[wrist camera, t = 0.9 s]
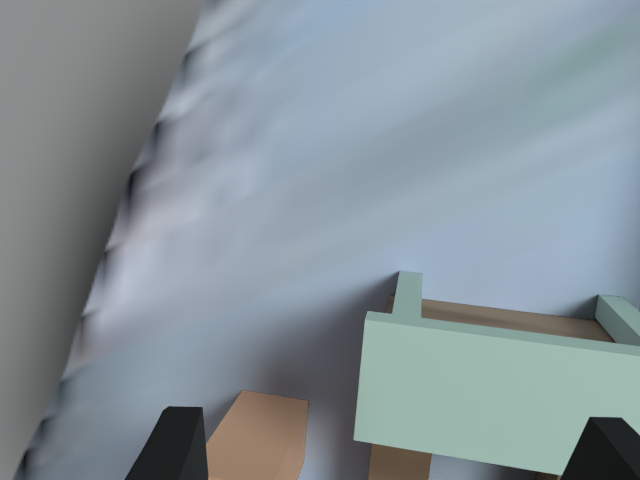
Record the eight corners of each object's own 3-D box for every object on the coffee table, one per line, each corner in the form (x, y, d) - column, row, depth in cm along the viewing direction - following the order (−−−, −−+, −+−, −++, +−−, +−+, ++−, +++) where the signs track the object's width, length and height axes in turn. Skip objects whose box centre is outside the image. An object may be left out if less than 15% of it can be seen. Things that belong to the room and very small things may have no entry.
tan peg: (304, 461, 33) (267, 564, 26) (239, 450, 34) (185, 547, 26) (308, 400, 32) (271, 488, 25) (242, 390, 33) (186, 472, 25)
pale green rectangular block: (626, 380, 29) (718, 502, 20) (375, 345, 31) (353, 440, 22) (646, 288, 28) (754, 371, 19) (383, 258, 30) (364, 319, 21)
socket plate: (585, 528, 31) (604, 578, 28) (369, 488, 33) (362, 531, 30) (627, 324, 28) (654, 352, 25) (389, 295, 30) (384, 317, 27)
